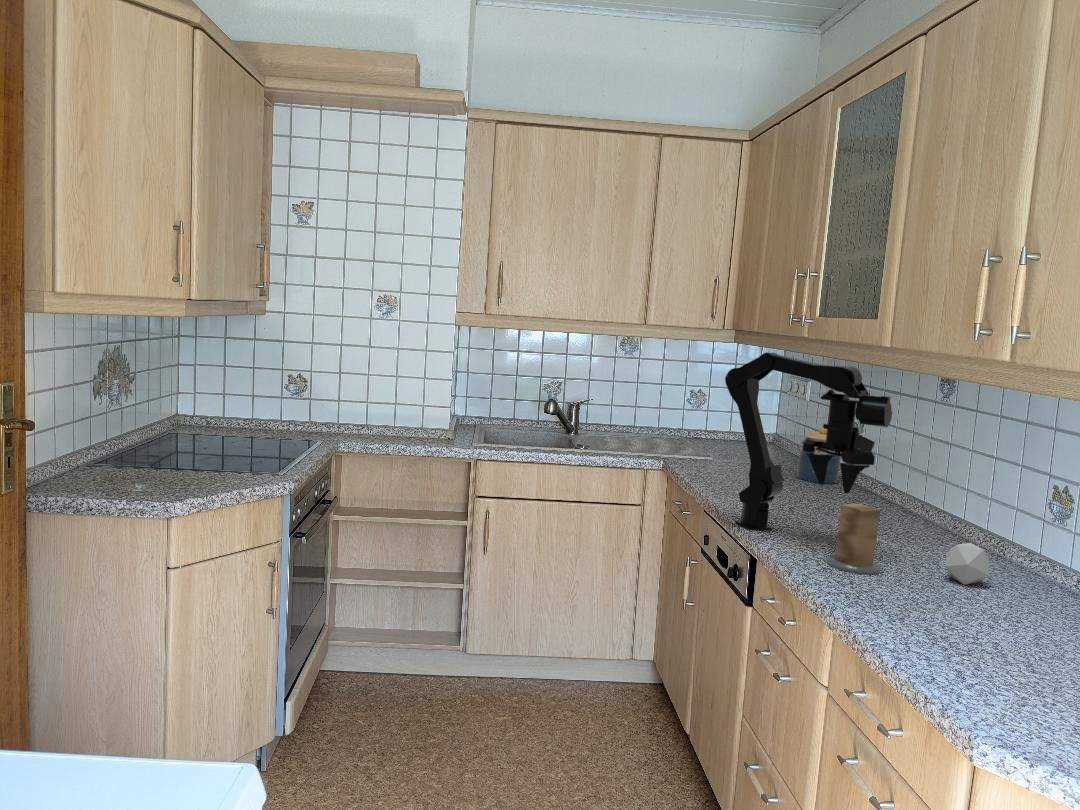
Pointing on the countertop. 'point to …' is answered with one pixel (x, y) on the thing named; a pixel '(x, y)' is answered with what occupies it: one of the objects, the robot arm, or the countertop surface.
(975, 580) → the die
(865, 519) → the walnut block
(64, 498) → the countertop surface
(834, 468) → the canister
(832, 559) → the slate coaster
